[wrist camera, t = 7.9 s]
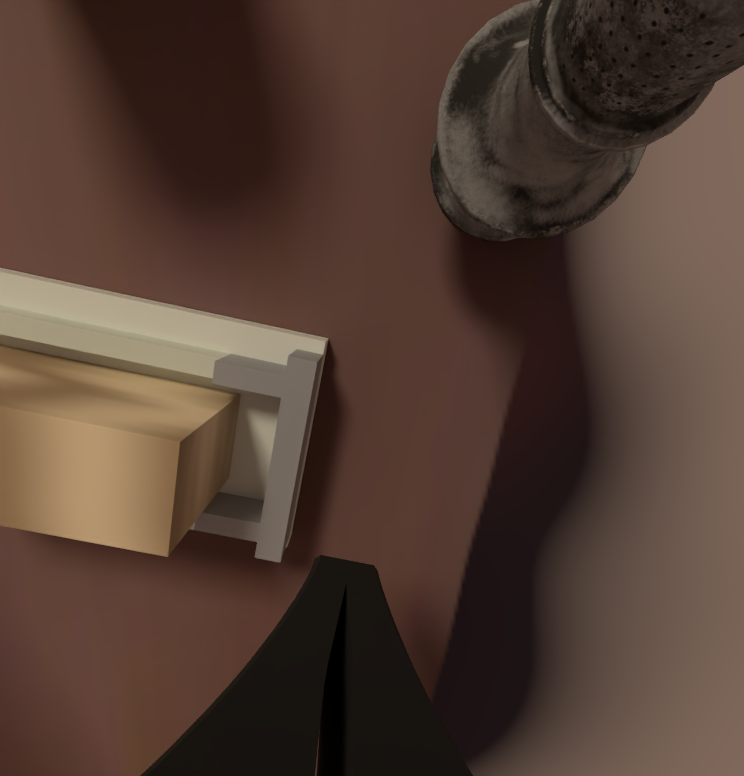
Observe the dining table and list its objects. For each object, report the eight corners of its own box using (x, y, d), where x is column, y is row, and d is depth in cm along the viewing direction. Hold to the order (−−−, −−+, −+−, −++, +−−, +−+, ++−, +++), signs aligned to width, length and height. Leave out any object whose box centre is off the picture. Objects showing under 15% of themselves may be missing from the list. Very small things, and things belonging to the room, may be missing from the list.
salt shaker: (582, 242, 15) (1273, 90, 4) (426, 255, 15) (589, 154, 4) (590, 60, 14) (1780, -1195, 2) (417, 77, 14) (637, -1005, 2)
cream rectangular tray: (-144, 449, 17) (-233, 477, 15) (-166, 231, 15) (-273, 220, 13) (291, 534, 18) (278, 573, 16) (328, 338, 16) (320, 347, 14)
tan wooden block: (-47, 423, 16) (-232, 482, 11) (-51, 333, 15) (-252, 355, 10) (229, 477, 16) (167, 557, 12) (240, 393, 16) (179, 441, 11)
